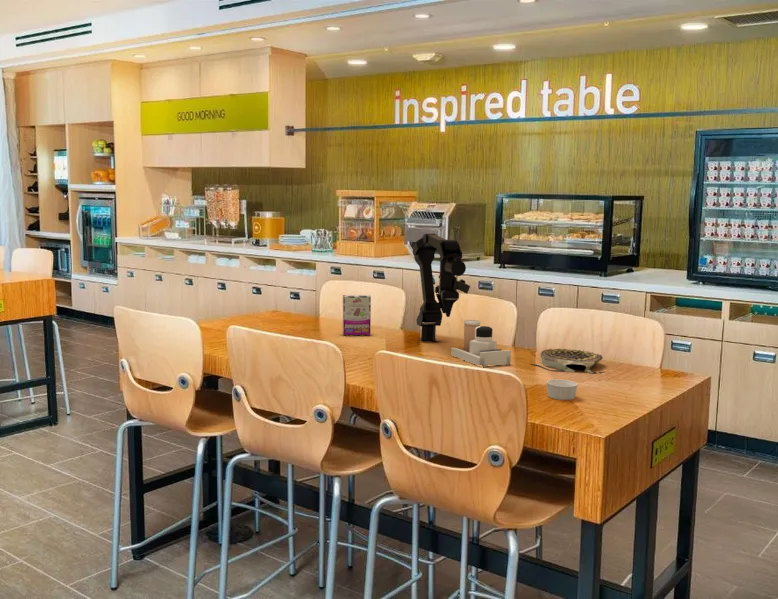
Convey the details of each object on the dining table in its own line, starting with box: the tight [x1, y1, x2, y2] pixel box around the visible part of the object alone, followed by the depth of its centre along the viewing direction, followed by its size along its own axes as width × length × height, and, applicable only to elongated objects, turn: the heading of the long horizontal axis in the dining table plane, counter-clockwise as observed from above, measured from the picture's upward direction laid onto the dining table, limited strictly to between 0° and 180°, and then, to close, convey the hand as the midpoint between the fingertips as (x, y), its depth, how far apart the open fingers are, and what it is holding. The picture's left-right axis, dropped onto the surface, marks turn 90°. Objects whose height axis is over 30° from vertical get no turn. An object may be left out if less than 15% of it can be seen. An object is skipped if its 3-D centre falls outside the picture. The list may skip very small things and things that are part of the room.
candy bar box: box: [342, 294, 372, 337], centre depth 321 cm, size 11×5×16 cm, turn 99°
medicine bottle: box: [469, 325, 497, 356], centre depth 276 cm, size 7×7×12 cm
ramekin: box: [546, 378, 579, 401], centre depth 229 cm, size 9×9×4 cm
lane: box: [450, 347, 512, 368], centre depth 277 cm, size 20×12×5 cm, turn 25°
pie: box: [533, 348, 604, 374], centre depth 274 cm, size 28×27×5 cm
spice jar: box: [463, 319, 481, 352], centre depth 282 cm, size 6×6×13 cm
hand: (446, 315), depth 295 cm, fingers open, 9 cm apart
